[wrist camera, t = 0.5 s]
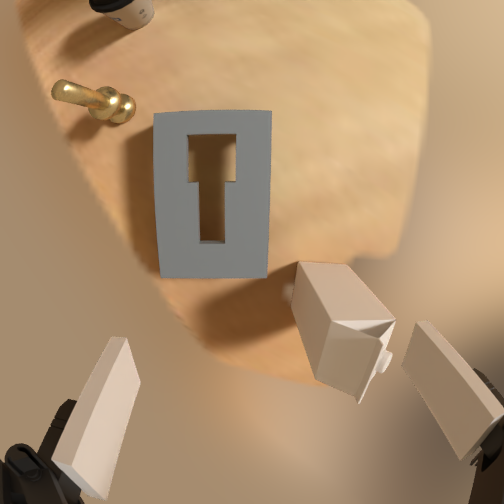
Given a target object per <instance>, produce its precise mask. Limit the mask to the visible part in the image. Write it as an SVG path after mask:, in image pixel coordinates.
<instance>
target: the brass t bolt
mask: <svg viewBox="0 0 504 504" xmlns="http://www.w3.org/2000/svg"><path fill="white" fill-rule="evenodd" d="M51 95H52V98H53V99H55V100H59V101H63V102H68V103H72V104H76V105H80V106H84V107H88V109H89V112H90V114H91V116H92V117H94V118H95V119H99V120H108V119H109V120H110V121H111V122H114V123H119V124H122V123H126V122H127V121H129V120H130V119H131V118H132V117H133V116H134V114H135V111H136V103H135V101H134V99H133V98H132V97H130V96H128V95H126V94H120V93H119V92H118V91H117V90H116V89H114V88H111V87H101V88H99V89H98V90H96V91H94V90H91V89H89V88H86V87H83V86H81V85H78V84H75V83H72V82H69V81H67V80H63V79H62V80H59V81H57V82H56V83H55V84H54V86H53V88H52V91H51Z"/></svg>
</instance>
